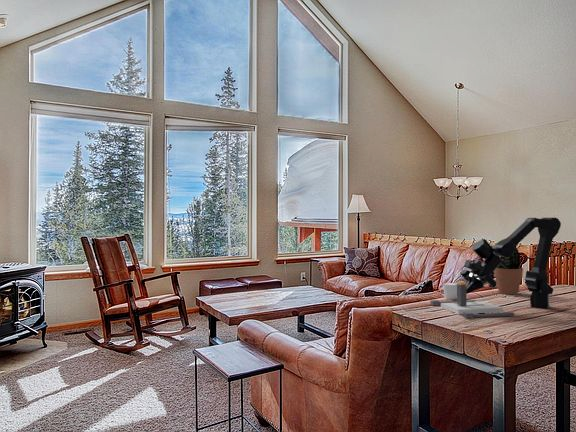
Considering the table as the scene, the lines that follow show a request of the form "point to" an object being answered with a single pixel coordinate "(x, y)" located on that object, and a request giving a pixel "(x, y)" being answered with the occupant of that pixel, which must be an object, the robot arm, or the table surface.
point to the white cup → (450, 290)
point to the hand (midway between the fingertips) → (464, 293)
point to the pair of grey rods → (471, 315)
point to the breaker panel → (472, 307)
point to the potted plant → (509, 274)
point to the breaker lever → (461, 293)
